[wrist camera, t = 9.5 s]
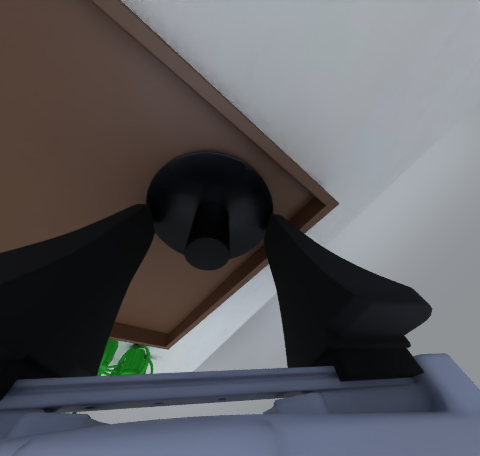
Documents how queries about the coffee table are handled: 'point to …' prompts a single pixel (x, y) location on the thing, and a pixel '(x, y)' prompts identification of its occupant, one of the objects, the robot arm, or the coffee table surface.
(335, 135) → the coffee table surface
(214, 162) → the lid
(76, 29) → the tray
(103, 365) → the chandelier
